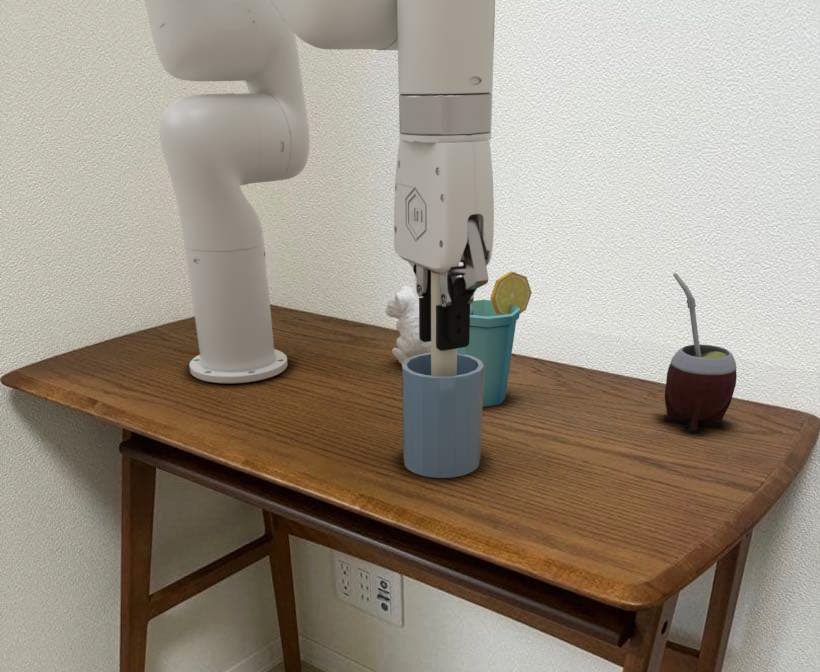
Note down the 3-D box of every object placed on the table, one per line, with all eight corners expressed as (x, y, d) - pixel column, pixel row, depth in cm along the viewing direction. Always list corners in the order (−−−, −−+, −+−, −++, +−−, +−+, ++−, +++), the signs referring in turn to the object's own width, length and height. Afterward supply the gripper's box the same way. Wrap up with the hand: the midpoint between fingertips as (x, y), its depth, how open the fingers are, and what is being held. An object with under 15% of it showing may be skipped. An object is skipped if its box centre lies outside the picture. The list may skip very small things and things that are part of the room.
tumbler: (390, 455, 83) (388, 359, 78) (455, 441, 86) (457, 347, 81) (426, 484, 77) (426, 382, 72) (494, 468, 80) (498, 369, 75)
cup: (461, 425, 90) (464, 286, 82) (412, 407, 95) (410, 274, 87) (540, 393, 98) (550, 264, 91) (491, 378, 103) (496, 255, 95)
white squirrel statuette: (415, 352, 113) (414, 262, 107) (455, 361, 109) (457, 268, 103) (376, 369, 107) (373, 274, 101) (417, 378, 103) (417, 281, 97)
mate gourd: (727, 438, 86) (756, 293, 78) (650, 430, 88) (671, 288, 80) (725, 413, 92) (752, 276, 85) (653, 406, 94) (673, 272, 87)
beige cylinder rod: (426, 390, 78) (425, 237, 71) (448, 386, 79) (450, 234, 72) (438, 398, 76) (439, 241, 69) (461, 394, 77) (464, 238, 70)
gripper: (361, 118, 71) (370, 328, 80) (455, 126, 59) (452, 374, 68) (437, 115, 74) (437, 318, 83) (541, 122, 62) (527, 360, 71)
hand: (444, 342), depth 75 cm, fingers closed on beige cylinder rod, 2 cm apart
